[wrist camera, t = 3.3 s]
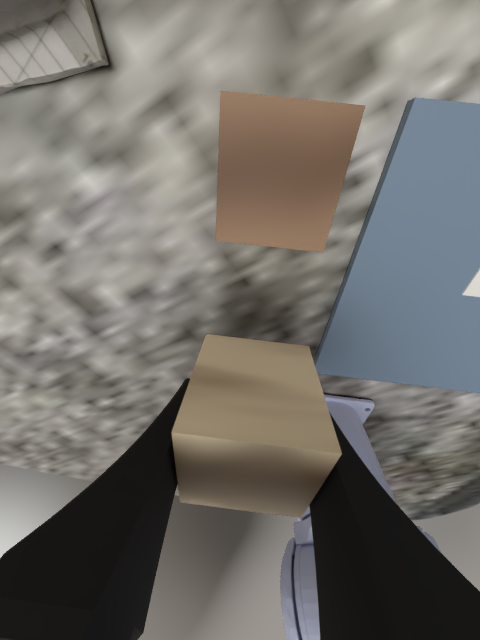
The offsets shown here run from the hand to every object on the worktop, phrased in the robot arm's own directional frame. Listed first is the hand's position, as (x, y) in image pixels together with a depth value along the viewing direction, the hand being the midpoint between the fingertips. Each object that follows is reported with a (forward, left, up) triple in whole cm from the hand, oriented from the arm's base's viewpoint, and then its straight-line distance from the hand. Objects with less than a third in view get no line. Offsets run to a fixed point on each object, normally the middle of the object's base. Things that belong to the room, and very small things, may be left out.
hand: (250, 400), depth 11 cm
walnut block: (+9, 0, -8) cm, 12 cm away
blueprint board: (+4, -15, -8) cm, 18 cm away
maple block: (0, 0, -2) cm, 2 cm away
